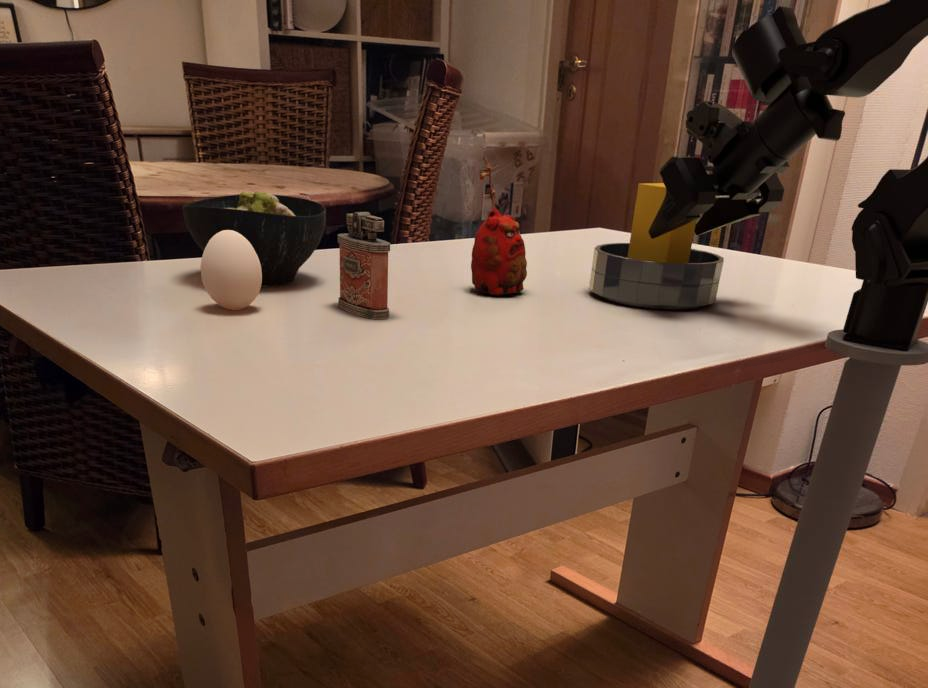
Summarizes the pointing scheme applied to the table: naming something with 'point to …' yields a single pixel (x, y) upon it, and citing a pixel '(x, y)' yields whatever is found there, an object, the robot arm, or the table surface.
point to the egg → (231, 270)
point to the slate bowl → (655, 279)
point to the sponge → (665, 246)
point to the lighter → (364, 267)
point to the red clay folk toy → (498, 251)
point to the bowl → (262, 228)
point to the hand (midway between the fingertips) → (673, 233)
